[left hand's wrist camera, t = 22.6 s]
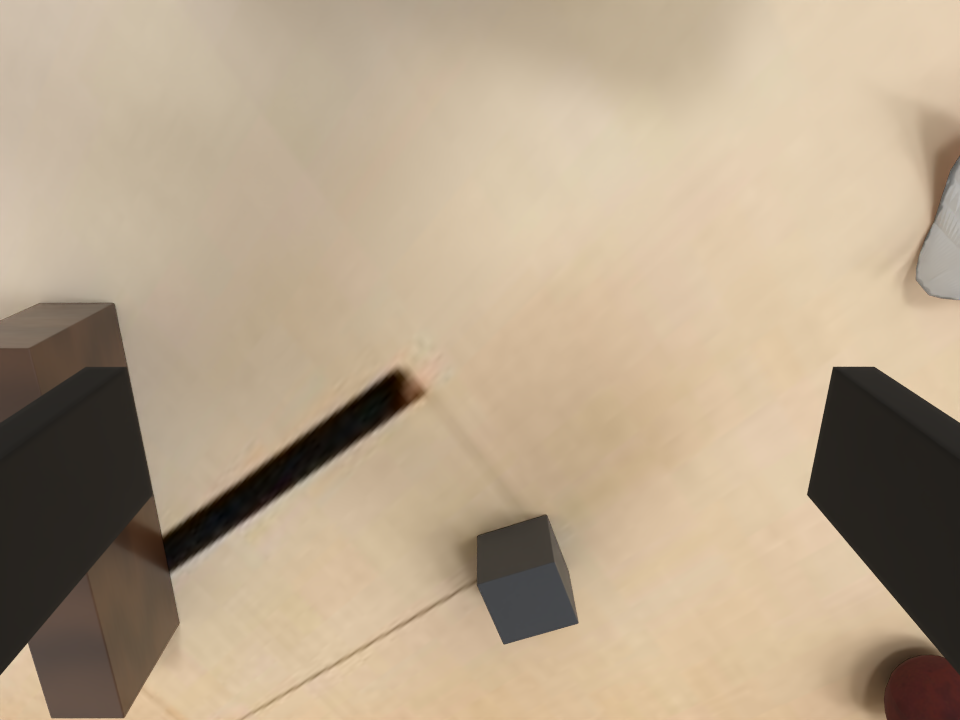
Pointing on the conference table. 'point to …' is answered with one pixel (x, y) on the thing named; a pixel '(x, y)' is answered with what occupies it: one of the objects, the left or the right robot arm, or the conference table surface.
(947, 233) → the red white cowboy hat
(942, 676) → the dark red ball
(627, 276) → the conference table surface
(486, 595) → the charcoal cube
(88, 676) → the walnut bar
